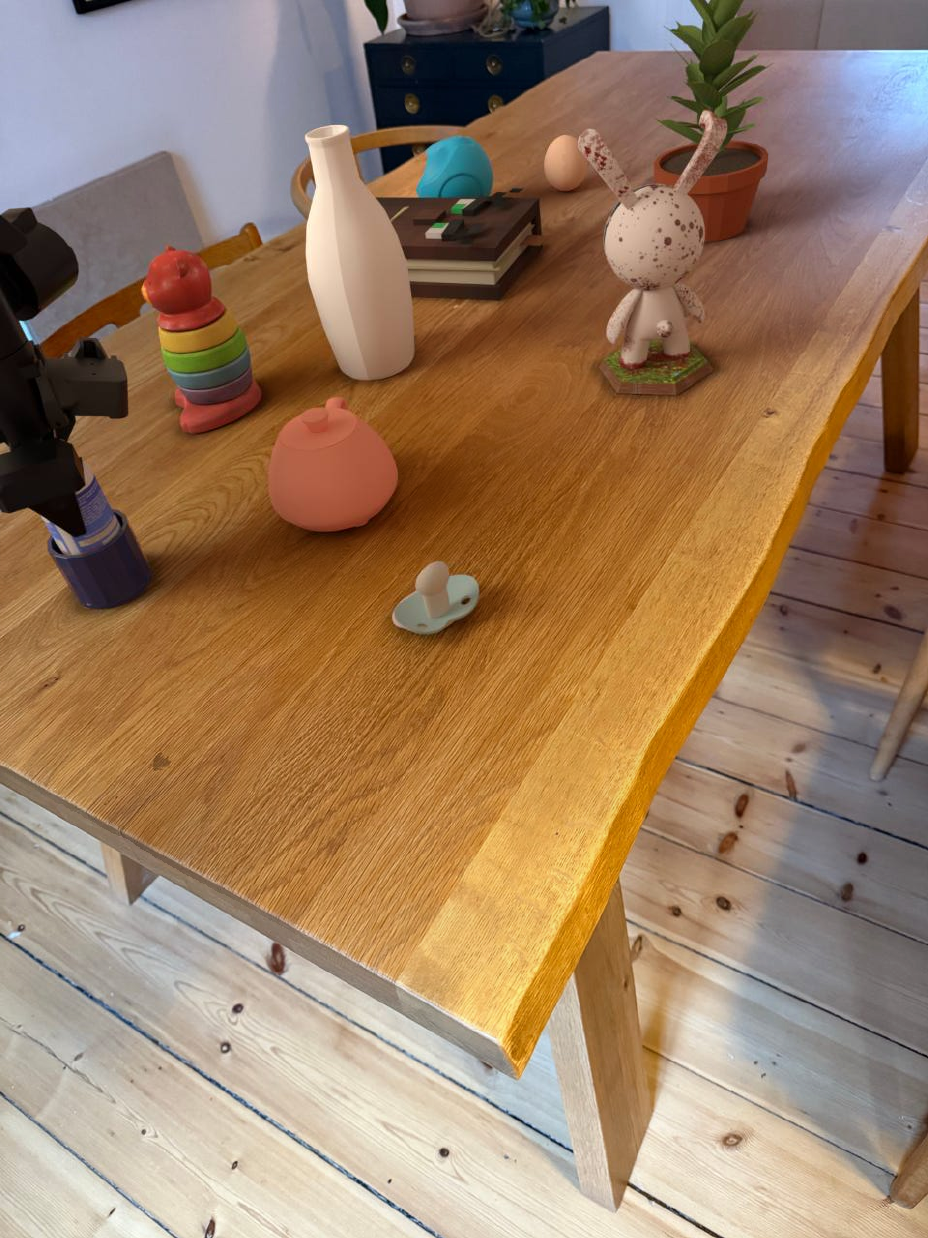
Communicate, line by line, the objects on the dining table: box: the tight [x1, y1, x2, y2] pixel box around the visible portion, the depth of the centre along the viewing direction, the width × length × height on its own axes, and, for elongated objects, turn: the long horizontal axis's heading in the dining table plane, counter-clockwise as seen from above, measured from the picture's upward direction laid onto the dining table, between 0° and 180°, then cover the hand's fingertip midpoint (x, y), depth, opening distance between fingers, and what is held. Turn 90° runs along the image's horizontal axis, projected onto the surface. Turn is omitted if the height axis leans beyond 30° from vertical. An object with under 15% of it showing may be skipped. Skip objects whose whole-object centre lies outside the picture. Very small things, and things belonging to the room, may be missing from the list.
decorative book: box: [375, 187, 550, 301], centre depth 122 cm, size 19×8×30 cm
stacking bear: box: [140, 245, 262, 435], centre depth 99 cm, size 11×10×18 cm
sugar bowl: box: [267, 396, 399, 533], centre depth 83 cm, size 12×14×10 cm
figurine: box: [577, 110, 727, 397], centre depth 88 cm, size 14×12×25 cm
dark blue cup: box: [46, 508, 153, 610], centre depth 80 cm, size 7×7×6 cm
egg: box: [543, 134, 588, 192], centre depth 138 cm, size 7×7×8 cm
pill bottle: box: [39, 439, 121, 556], centre depth 76 cm, size 5×5×10 cm
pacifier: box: [391, 560, 480, 635], centre depth 71 cm, size 7×6×6 cm
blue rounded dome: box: [415, 134, 494, 198], centre depth 134 cm, size 12×11×12 cm
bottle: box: [304, 124, 415, 382], centre depth 98 cm, size 11×11×25 cm
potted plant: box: [653, 0, 774, 243], centre depth 112 cm, size 15×15×30 cm
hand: (78, 517), depth 77 cm, fingers closed on pill bottle, 5 cm apart
